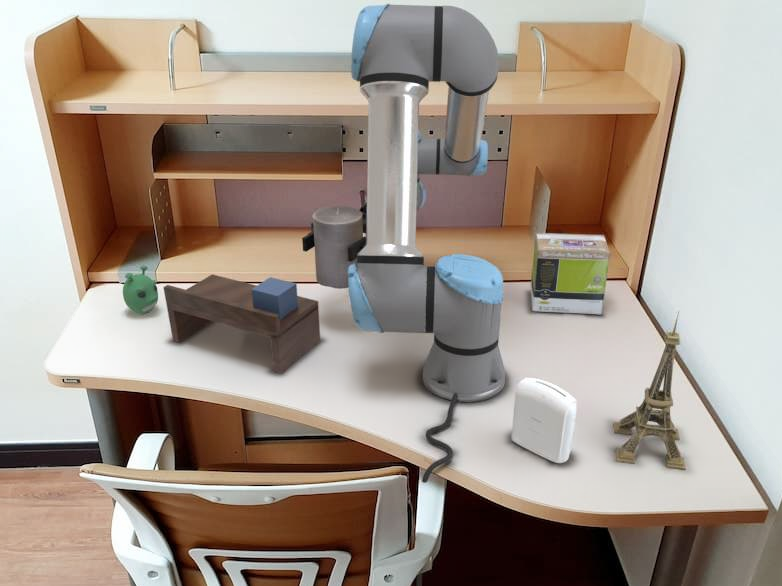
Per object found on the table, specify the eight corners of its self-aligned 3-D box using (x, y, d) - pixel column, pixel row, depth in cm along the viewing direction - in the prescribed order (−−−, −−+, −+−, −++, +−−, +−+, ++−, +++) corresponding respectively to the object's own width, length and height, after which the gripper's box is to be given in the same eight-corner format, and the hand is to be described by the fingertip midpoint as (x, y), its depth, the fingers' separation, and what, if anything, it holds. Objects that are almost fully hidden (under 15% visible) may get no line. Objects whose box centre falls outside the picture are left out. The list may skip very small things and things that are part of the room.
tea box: (596, 295, 171) (606, 233, 163) (601, 316, 163) (612, 252, 155) (529, 291, 172) (535, 230, 164) (530, 312, 164) (538, 248, 156)
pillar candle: (355, 266, 159) (353, 197, 151) (370, 285, 151) (369, 213, 144) (310, 273, 156) (306, 202, 148) (323, 292, 148) (319, 219, 140)
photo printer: (506, 440, 126) (513, 378, 119) (521, 429, 128) (528, 367, 122) (559, 468, 120) (569, 404, 113) (573, 456, 122) (584, 392, 116)
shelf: (320, 340, 153) (317, 287, 146) (280, 373, 142) (275, 317, 136) (217, 312, 162) (210, 260, 156) (172, 341, 152) (163, 287, 145)
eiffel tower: (616, 461, 121) (644, 324, 108) (613, 423, 130) (639, 291, 117) (685, 469, 120) (722, 331, 106) (677, 430, 128) (710, 298, 115)
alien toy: (145, 323, 158) (137, 279, 153) (119, 314, 161) (110, 271, 156) (170, 310, 163) (163, 267, 158) (144, 301, 166) (136, 259, 161)
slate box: (298, 307, 146) (296, 283, 143) (280, 320, 141) (278, 296, 138) (272, 300, 148) (270, 277, 145) (253, 313, 143) (251, 289, 141)
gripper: (427, 239, 161) (377, 279, 144) (338, 221, 169) (280, 256, 152) (428, 205, 157) (377, 242, 140) (336, 188, 165) (277, 221, 148)
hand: (326, 249), depth 146 cm, fingers closed on pillar candle, 10 cm apart
